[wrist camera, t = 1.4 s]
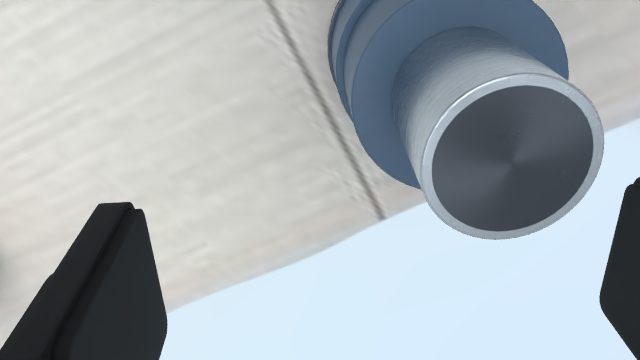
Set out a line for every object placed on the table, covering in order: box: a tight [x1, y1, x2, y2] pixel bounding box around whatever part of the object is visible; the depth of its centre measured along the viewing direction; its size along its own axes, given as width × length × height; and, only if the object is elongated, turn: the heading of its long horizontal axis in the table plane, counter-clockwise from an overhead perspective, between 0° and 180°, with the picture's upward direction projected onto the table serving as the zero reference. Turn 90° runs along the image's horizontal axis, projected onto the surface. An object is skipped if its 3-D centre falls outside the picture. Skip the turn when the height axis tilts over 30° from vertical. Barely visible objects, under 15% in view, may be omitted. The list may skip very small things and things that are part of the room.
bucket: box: [328, 0, 569, 189], centre depth 30 cm, size 11×11×10 cm
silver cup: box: [391, 27, 604, 240], centre depth 22 cm, size 6×6×7 cm
